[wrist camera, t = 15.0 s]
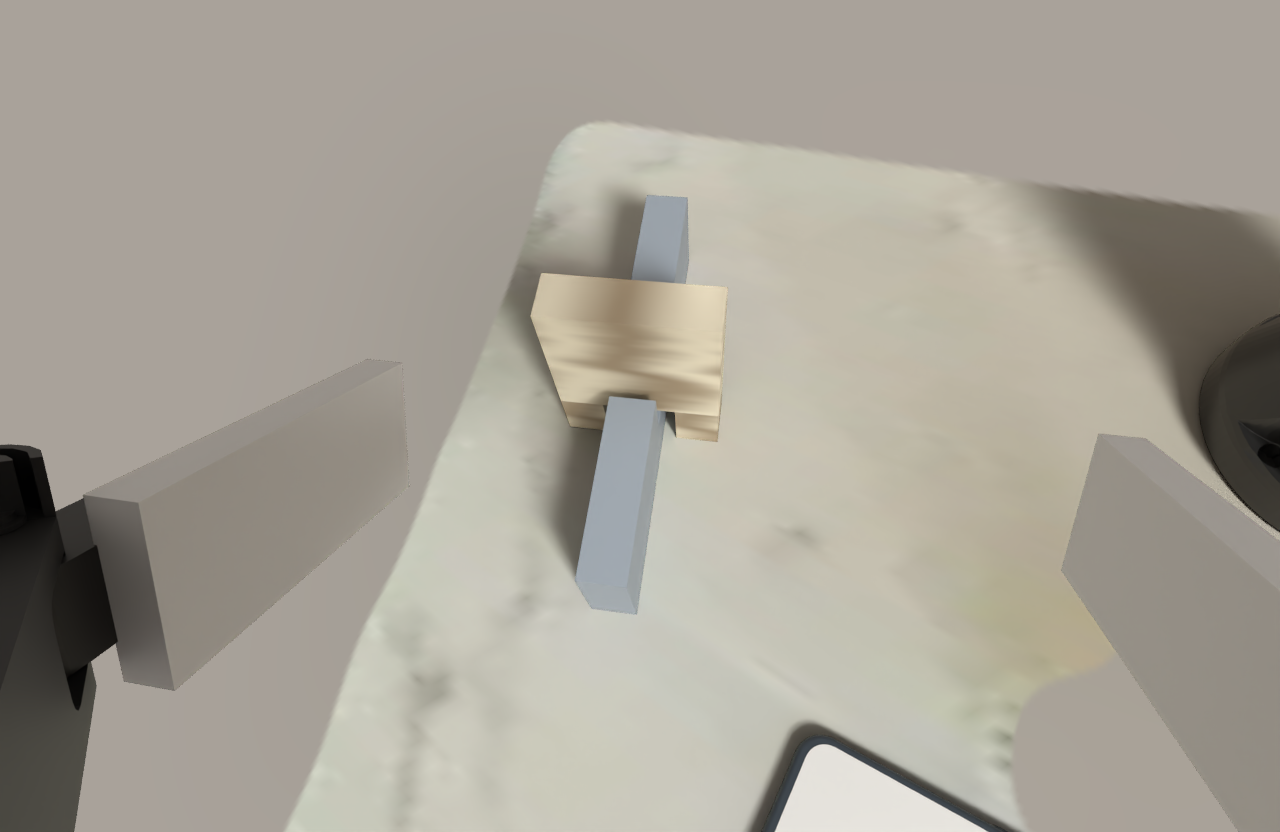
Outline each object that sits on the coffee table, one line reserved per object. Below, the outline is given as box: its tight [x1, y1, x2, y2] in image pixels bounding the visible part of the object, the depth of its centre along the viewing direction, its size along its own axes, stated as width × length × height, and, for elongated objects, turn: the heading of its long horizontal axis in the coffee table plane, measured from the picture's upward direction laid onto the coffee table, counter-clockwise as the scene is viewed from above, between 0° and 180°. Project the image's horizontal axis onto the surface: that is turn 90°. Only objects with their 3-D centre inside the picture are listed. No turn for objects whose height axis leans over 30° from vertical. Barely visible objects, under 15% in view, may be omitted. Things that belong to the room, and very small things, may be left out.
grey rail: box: [575, 195, 689, 614], centre depth 43 cm, size 2×24×6 cm, turn 172°
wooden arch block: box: [531, 273, 728, 442], centre depth 40 cm, size 9×2×12 cm, turn 82°
